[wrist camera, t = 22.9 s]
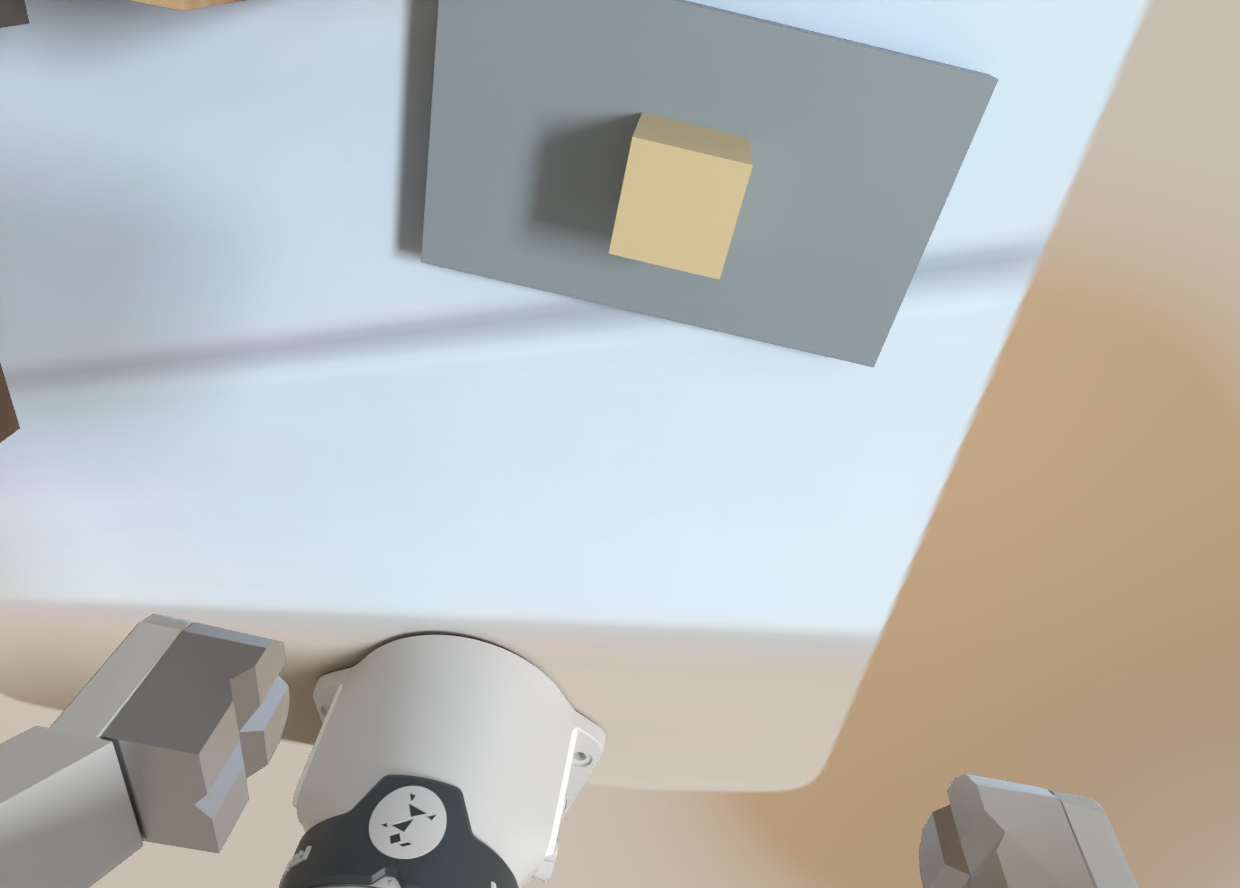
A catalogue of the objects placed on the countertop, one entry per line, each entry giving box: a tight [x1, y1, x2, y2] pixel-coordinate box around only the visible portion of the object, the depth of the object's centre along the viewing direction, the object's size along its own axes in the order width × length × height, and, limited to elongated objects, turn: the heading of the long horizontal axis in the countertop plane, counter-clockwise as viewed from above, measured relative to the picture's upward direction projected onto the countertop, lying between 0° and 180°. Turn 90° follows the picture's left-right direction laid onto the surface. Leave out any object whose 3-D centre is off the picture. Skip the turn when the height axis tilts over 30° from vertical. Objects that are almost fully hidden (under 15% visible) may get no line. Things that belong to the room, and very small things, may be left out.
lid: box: [421, 0, 998, 367], centre depth 29 cm, size 11×19×6 cm, turn 78°
